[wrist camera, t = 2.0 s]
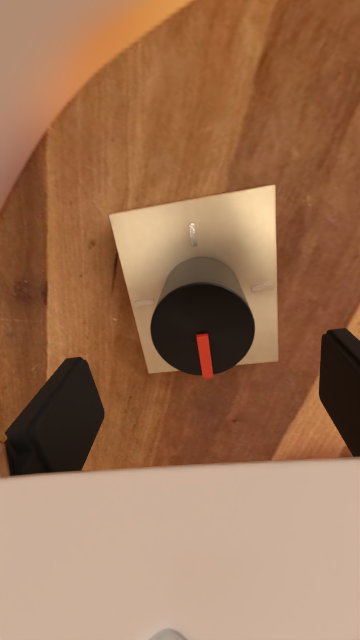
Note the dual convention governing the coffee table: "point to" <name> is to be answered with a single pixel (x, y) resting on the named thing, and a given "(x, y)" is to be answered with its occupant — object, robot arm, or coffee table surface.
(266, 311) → the dial panel
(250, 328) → the knob
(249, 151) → the coffee table surface
